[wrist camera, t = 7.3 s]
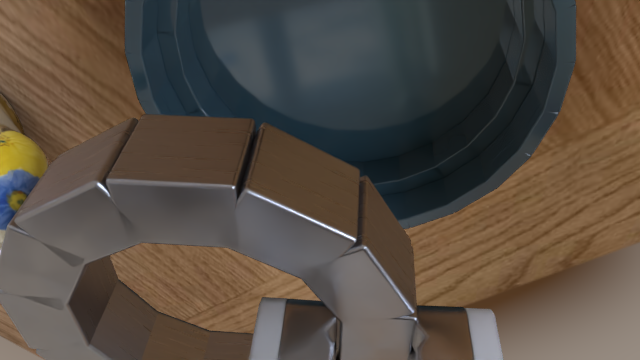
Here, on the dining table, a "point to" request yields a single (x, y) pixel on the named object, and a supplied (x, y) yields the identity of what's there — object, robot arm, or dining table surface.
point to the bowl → (369, 82)
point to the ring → (201, 239)
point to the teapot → (16, 165)
